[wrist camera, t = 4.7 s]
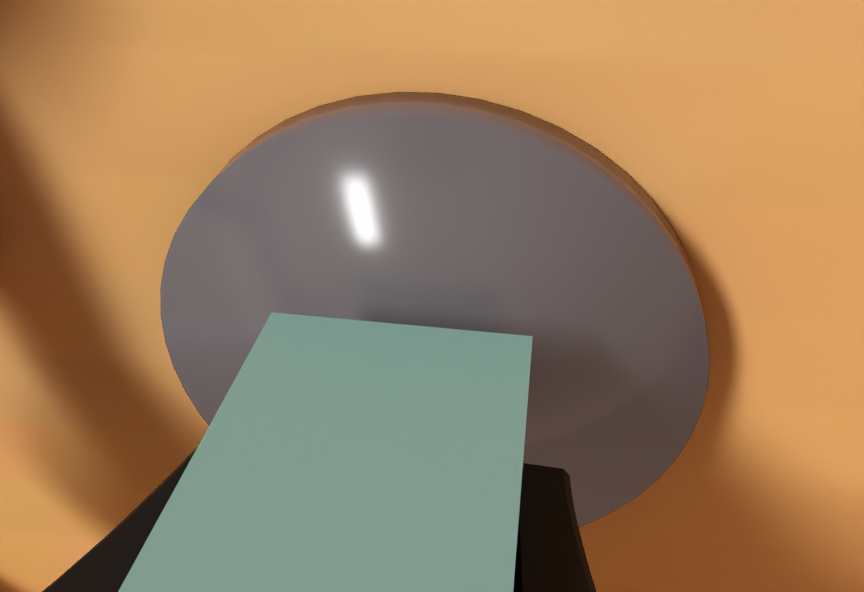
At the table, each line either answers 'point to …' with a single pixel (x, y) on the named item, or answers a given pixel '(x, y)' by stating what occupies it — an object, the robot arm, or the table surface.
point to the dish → (456, 269)
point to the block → (353, 466)
